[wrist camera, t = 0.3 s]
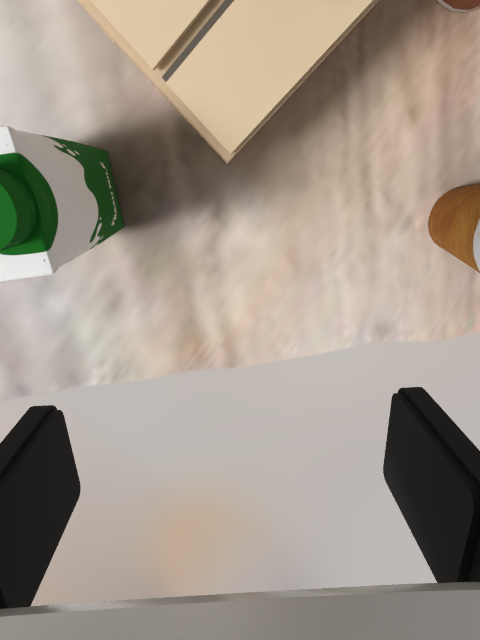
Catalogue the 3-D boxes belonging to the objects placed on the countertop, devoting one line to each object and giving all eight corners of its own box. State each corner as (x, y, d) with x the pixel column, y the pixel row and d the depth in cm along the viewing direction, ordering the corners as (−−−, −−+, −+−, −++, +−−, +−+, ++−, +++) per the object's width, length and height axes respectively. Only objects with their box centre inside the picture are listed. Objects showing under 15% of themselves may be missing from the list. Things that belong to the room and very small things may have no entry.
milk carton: (136, 234, 38) (51, 294, 20) (46, 247, 39) (-122, 317, 20) (114, 138, 35) (-10, 101, 17) (17, 151, 35) (-215, 130, 17)
